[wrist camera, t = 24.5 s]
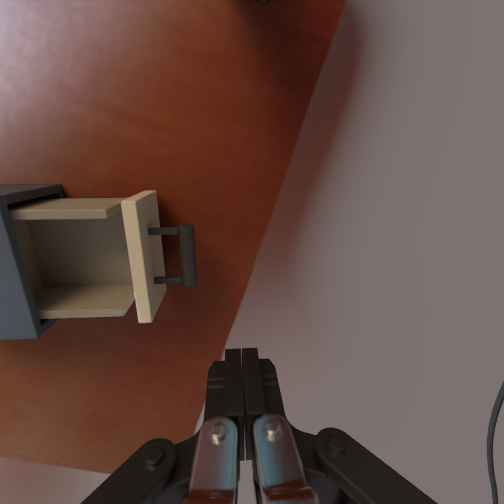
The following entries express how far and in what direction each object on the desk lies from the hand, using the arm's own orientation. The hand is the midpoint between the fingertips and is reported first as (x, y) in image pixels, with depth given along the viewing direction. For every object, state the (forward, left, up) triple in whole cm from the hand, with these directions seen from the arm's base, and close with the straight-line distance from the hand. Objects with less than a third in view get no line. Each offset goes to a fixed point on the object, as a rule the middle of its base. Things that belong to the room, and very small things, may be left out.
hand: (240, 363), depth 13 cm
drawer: (+5, +11, -19) cm, 23 cm away
